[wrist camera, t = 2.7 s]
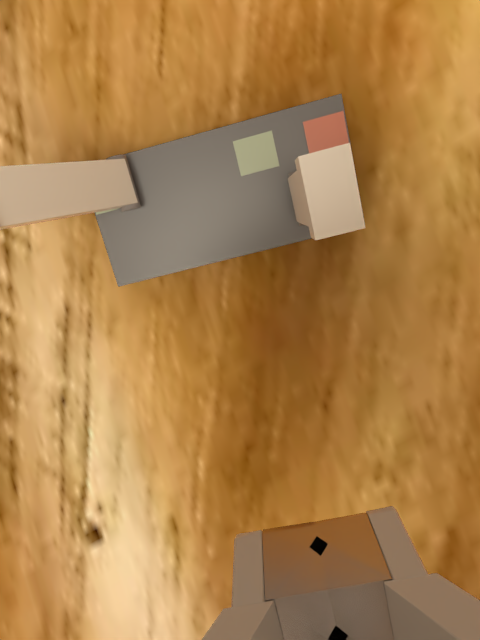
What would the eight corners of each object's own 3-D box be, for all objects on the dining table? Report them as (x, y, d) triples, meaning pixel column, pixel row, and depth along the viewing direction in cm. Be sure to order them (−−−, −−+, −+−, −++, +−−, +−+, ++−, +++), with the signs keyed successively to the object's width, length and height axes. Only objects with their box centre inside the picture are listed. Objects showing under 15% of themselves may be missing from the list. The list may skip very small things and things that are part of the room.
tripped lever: (322, 218, 32) (365, 228, 19) (292, 226, 32) (315, 240, 20) (312, 167, 31) (349, 142, 19) (281, 175, 31) (298, 156, 19)
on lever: (148, 204, 32) (-38, 239, 21) (127, 211, 33) (-58, 246, 23) (133, 152, 31) (-68, 162, 21) (112, 161, 32) (-87, 174, 22)
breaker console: (356, 223, 35) (365, 225, 32) (129, 280, 37) (118, 286, 34) (334, 103, 33) (341, 93, 30) (94, 169, 35) (79, 166, 32)
